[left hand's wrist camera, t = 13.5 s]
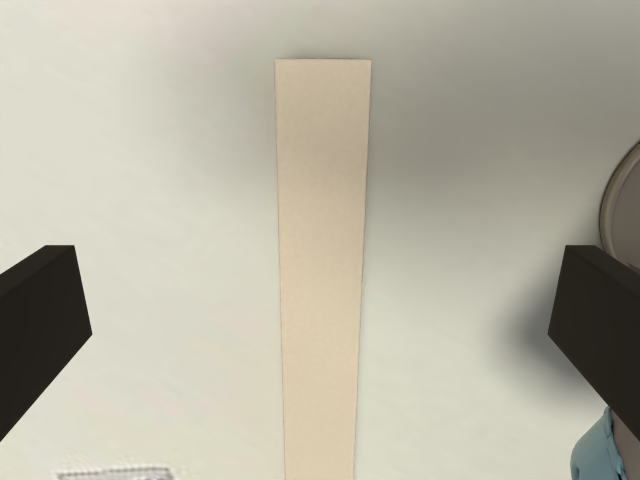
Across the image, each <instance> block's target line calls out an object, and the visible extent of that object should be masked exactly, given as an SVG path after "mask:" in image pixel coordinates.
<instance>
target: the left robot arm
mask: <svg viewBox="0 0 640 480" xmlns="http://www.w3.org/2000/svg"><path fill="white" fill-rule="evenodd" d="M600 234H601V240H602V243H603V247H604V249H605V252H604V251H602V250H601V249H599V248H598V247H596V246H595V245H566V247H565V252H564V256H563V261H562V266H561V271H560V276H559V281H558V286H557V291H556V296H555V301H554V305H553V310H552V315H551V320H550V325H549V330H548V335H549V337H550V338H551V339H552V340H553V341H554V342H555V344H556V345H557V346H558V347H559V348H560V349H561V351H562V352H563V353H564V354H565V355H566V357H567V358H568V359H569V360H570V361H571V362H572V364H573V365H574V366H575V367H576V368H577V369H578V371H579V372H580V373H581V374H582V375H583V376H584V378H585V379H586V380H587V381H588V382H589V383H590V385H591V386H592V387H593V388H594V389H595V390H596V392H597V393H598V394H599V395H600V396H601V397H602V399H603V400H604V401H605V402H606V403H607V404H608V406H607V407H606V408H605V411H604V415H603V416H602V417H601V418H600V419H599V420H598V421H597V422H596V423H595V424H594V425H593V426H592V427H591V428H590V429H589V430H588V431H587V432H586V433H585V435H584V436H583V437H582V438H581V439H580V440H579V441H578V442H577V443H576V445H575V447H574V449H573V451H572V455H571V462H570V467H571V476H572V480H640V143H639V144H638V145H637V146H636V147H635V148H634V149H633V150H632V151H631V152H630V153H629V155H628V156H627V157H626V158H625V159H624V161H623V162H622V163H621V165H620V166H619V168H618V169H617V171H616V172H615V174H614V176H613V177H612V179H611V181H610V183H609V186H608V188H607V190H606V193H605V196H604V199H603V203H602V207H601V213H600ZM91 335H92V330H91V325H90V320H89V315H88V310H87V305H86V301H85V296H84V291H83V286H82V281H81V276H80V271H79V266H78V261H77V256H76V252H75V247H74V245H45V246H44V247H42V248H41V249H39V250H38V251H36V252H34V253H33V254H31V255H30V256H28V257H27V258H25V259H24V260H22V261H20V262H19V263H17V264H16V265H14V266H13V267H11V268H10V269H8V270H6V271H5V272H3V273H2V274H0V442H1V441H2V439H3V438H4V437H5V436H6V435H7V434H8V432H9V431H10V430H11V429H12V428H13V427H14V425H15V424H16V423H17V422H18V421H19V420H20V418H21V417H22V416H23V415H24V414H25V413H26V411H27V410H28V409H29V408H30V407H31V406H32V404H33V403H34V402H35V401H36V400H37V399H38V397H39V396H40V395H41V394H42V393H43V392H44V390H45V389H46V388H47V387H48V386H49V385H50V383H51V382H52V381H53V380H54V379H55V378H56V376H57V375H58V374H59V373H60V372H61V371H62V369H63V368H64V367H65V366H66V365H67V364H68V362H69V361H70V360H71V359H72V358H73V357H74V355H75V354H76V353H77V352H78V351H79V349H80V348H81V347H82V346H83V345H84V344H85V342H86V341H87V340H88V339H89V338H90V337H91Z"/></svg>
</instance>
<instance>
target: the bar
mask: <svg viewBox="0 0 640 480" xmlns="http://www.w3.org/2000/svg"><path fill="white" fill-rule="evenodd" d="M371 71H372V60H371V59H276V58H275V59H274V73H275V111H276V149H277V187H278V225H279V262H280V300H281V338H282V376H283V413H284V451H285V480H353V479H354V456H355V433H356V411H357V388H358V365H359V343H360V320H361V297H362V275H363V252H364V229H365V207H366V184H367V161H368V139H369V116H370V93H371Z"/></svg>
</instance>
